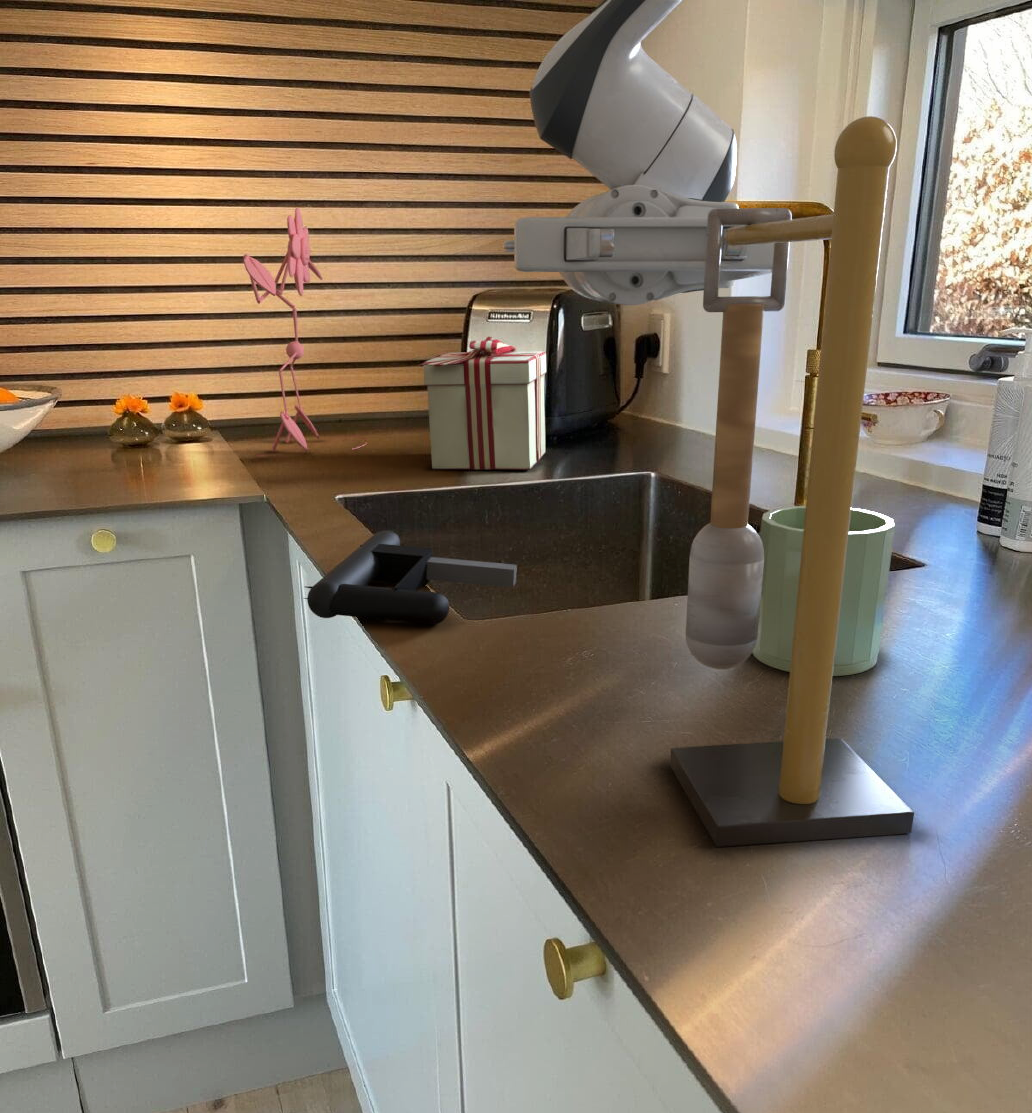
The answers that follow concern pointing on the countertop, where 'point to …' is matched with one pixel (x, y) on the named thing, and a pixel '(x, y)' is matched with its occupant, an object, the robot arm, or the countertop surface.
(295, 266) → the figurine
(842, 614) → the crock
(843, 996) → the countertop surface
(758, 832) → the stand
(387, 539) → the black frame with bar
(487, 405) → the gift box
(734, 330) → the square loop wand
